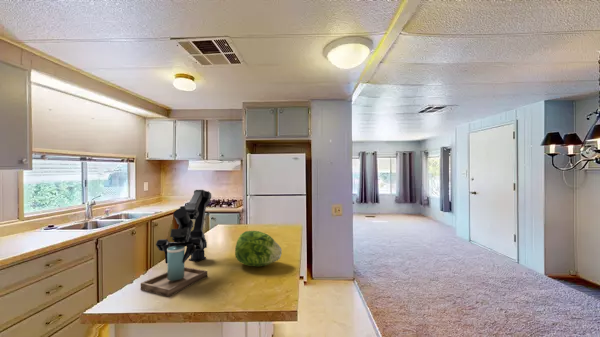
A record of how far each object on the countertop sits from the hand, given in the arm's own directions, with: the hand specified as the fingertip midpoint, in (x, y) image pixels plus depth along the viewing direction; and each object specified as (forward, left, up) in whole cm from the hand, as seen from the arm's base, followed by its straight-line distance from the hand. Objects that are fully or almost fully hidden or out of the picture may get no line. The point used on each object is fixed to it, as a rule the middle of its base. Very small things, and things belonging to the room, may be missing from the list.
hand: (174, 262), depth 106 cm
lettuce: (+21, +32, -9) cm, 40 cm away
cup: (-1, +1, -7) cm, 7 cm away
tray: (-1, +1, -9) cm, 9 cm away
